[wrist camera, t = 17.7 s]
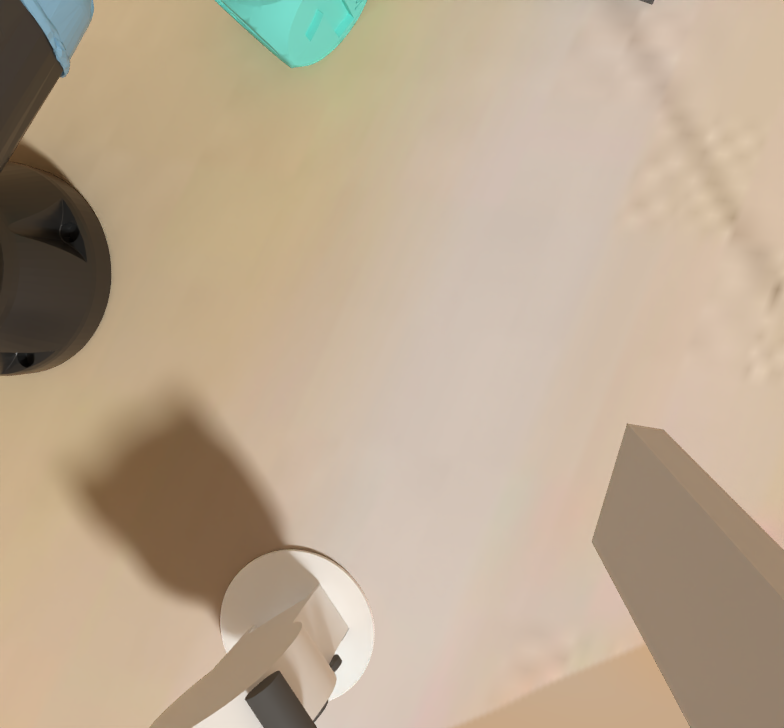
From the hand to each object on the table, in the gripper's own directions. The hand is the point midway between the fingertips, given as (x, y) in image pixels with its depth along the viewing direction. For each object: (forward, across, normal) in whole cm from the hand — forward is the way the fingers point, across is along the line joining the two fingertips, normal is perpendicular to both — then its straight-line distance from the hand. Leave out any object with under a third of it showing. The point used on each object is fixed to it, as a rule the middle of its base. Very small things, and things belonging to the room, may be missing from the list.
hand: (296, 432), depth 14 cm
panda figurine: (+29, 0, -28) cm, 40 cm away
